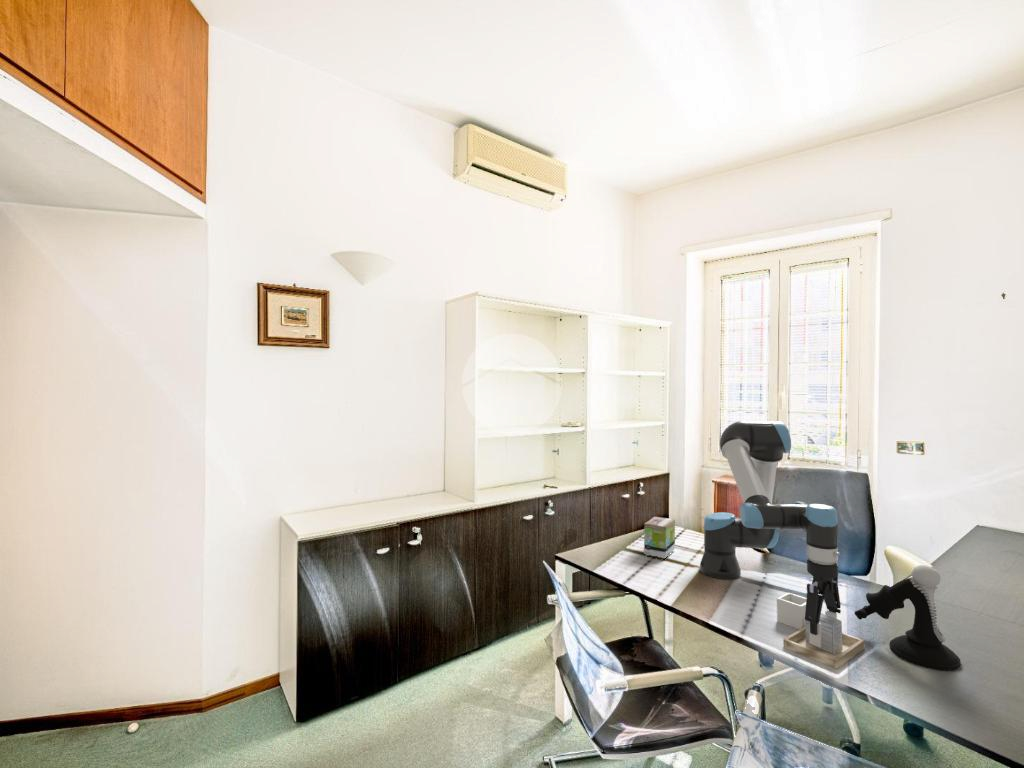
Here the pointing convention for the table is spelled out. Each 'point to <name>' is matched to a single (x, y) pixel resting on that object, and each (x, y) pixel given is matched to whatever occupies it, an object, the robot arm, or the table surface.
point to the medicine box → (828, 634)
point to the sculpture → (915, 620)
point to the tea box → (659, 537)
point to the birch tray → (800, 646)
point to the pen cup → (791, 610)
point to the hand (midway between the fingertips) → (823, 639)
